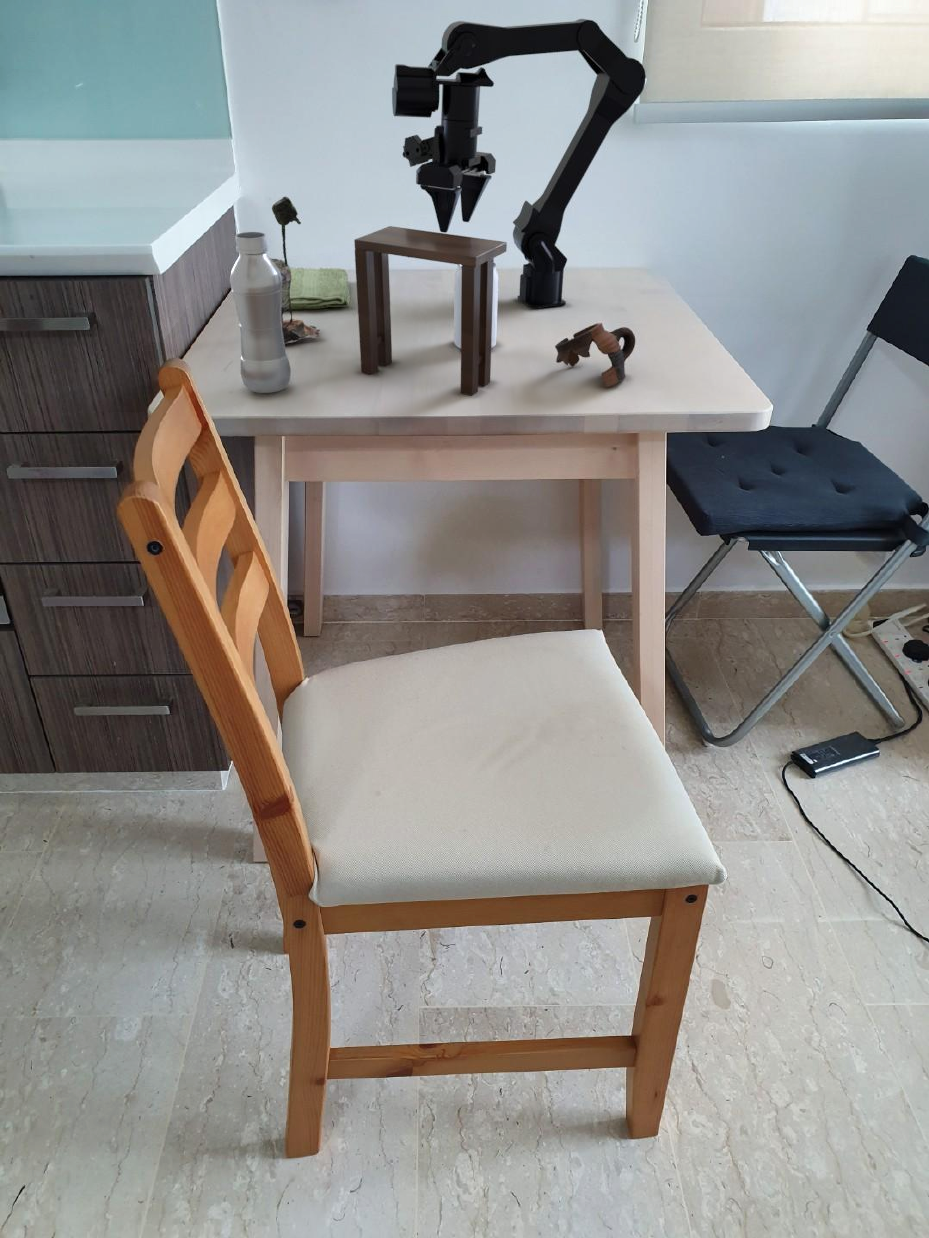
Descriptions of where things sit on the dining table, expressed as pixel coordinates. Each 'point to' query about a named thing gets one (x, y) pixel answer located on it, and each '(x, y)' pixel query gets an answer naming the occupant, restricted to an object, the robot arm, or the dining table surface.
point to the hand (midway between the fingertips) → (455, 227)
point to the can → (458, 306)
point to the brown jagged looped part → (605, 344)
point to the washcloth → (319, 288)
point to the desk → (474, 295)
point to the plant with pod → (289, 277)
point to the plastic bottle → (259, 315)
